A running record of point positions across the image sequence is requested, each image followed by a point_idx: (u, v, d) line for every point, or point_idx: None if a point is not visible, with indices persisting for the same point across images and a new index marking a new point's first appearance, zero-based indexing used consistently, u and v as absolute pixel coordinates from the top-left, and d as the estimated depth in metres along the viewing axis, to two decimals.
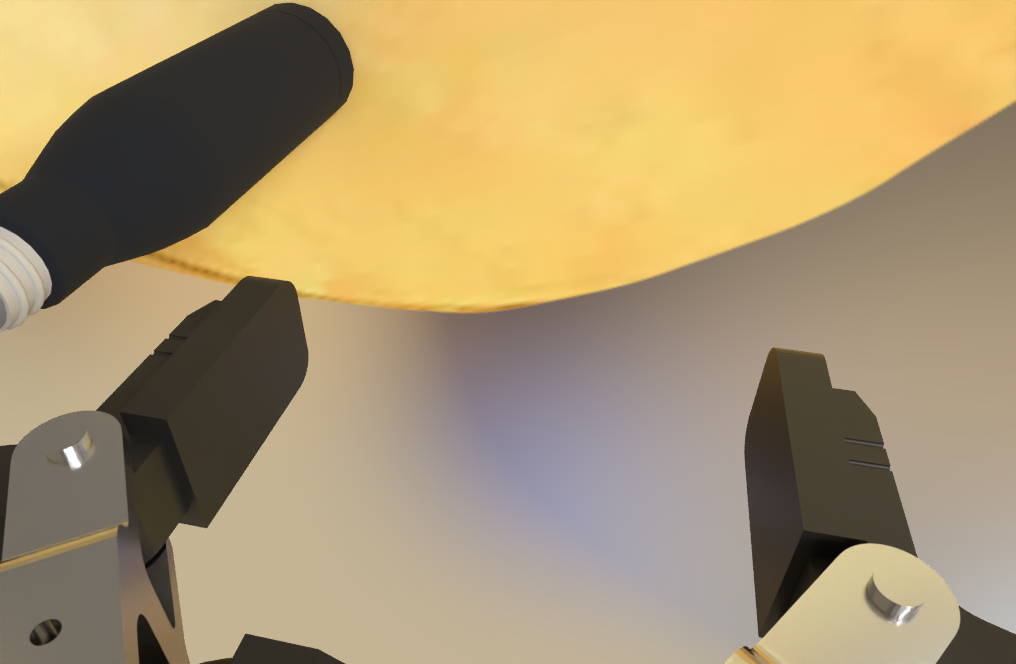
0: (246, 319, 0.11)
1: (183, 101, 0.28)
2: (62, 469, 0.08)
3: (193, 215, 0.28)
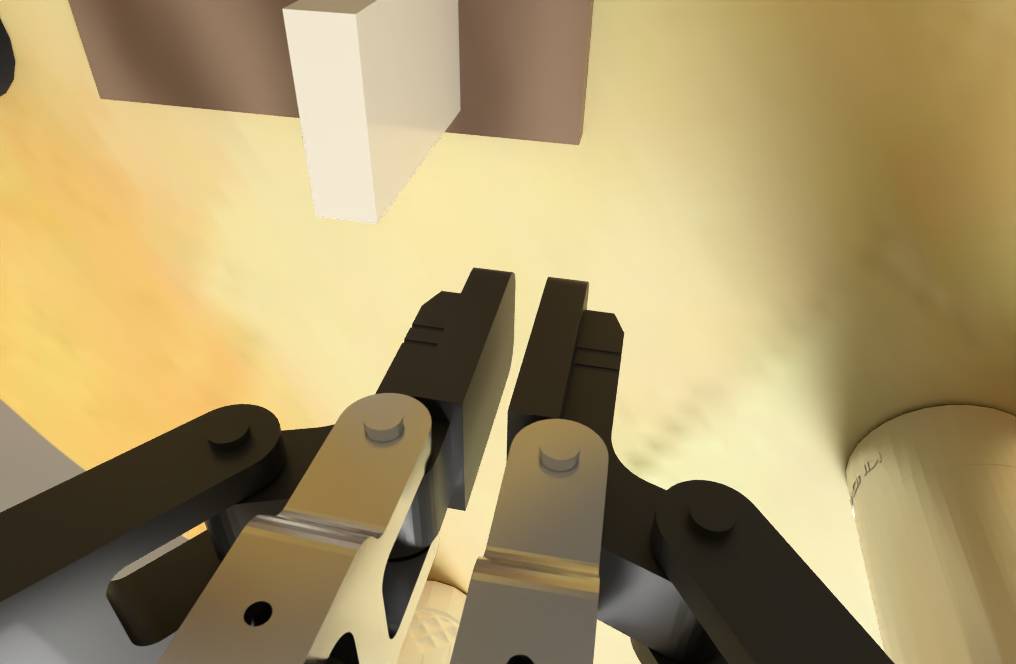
0: (492, 308, 0.11)
1: None
2: (389, 449, 0.09)
3: None
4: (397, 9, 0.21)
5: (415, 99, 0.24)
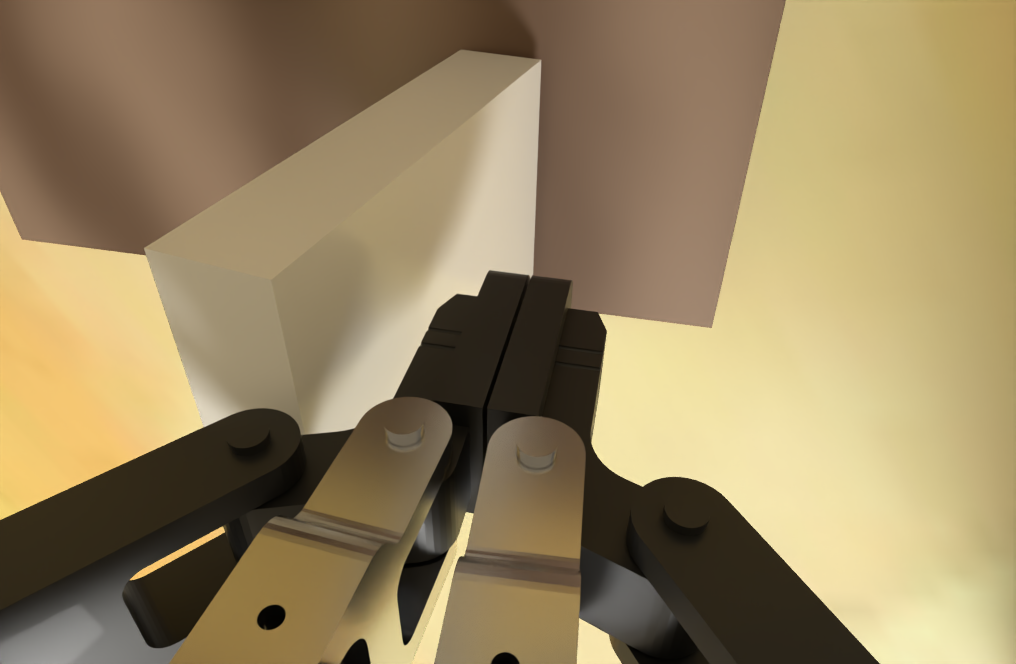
0: (509, 311, 0.11)
1: None
2: (411, 454, 0.09)
3: None
4: (398, 213, 0.12)
5: None
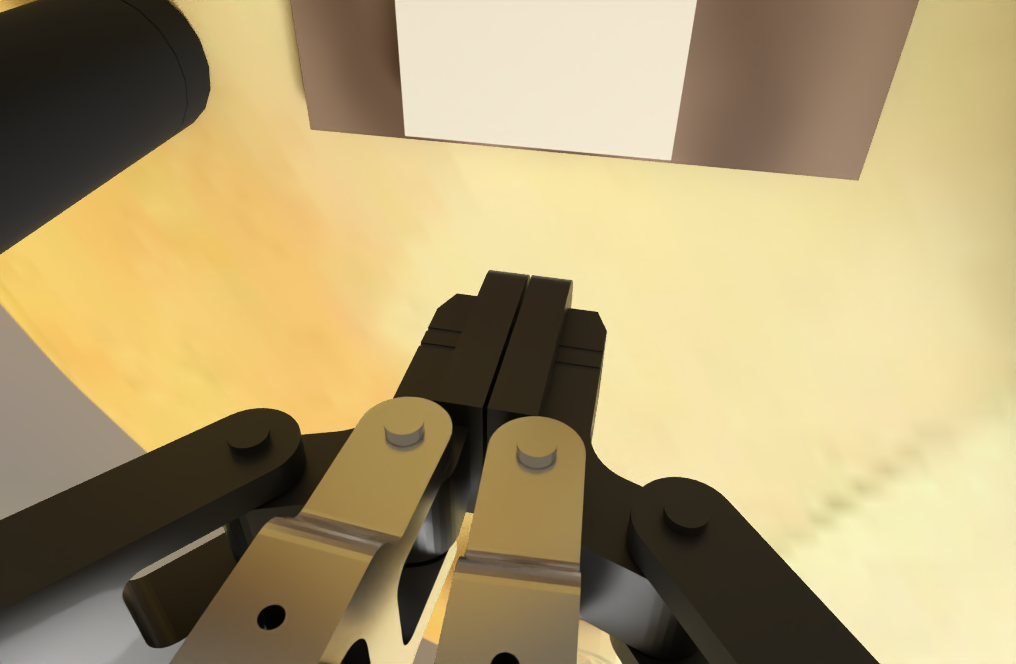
0: (509, 312, 0.11)
1: None
2: (411, 454, 0.09)
3: None
4: None
5: (517, 82, 0.25)
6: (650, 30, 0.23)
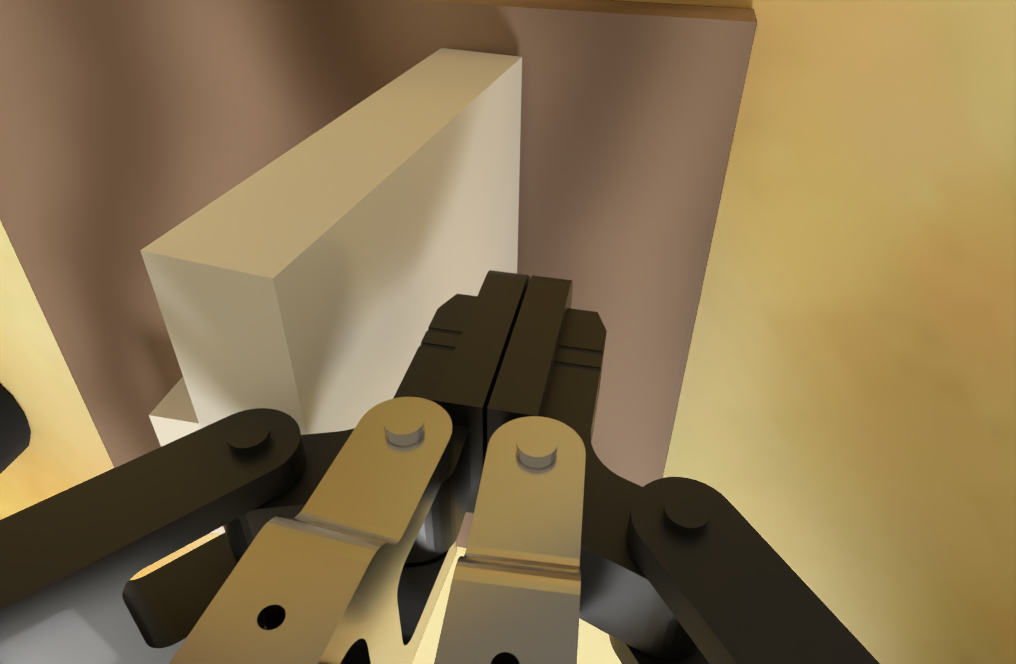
0: (509, 312, 0.11)
1: None
2: (411, 454, 0.09)
3: None
4: None
5: None
6: None
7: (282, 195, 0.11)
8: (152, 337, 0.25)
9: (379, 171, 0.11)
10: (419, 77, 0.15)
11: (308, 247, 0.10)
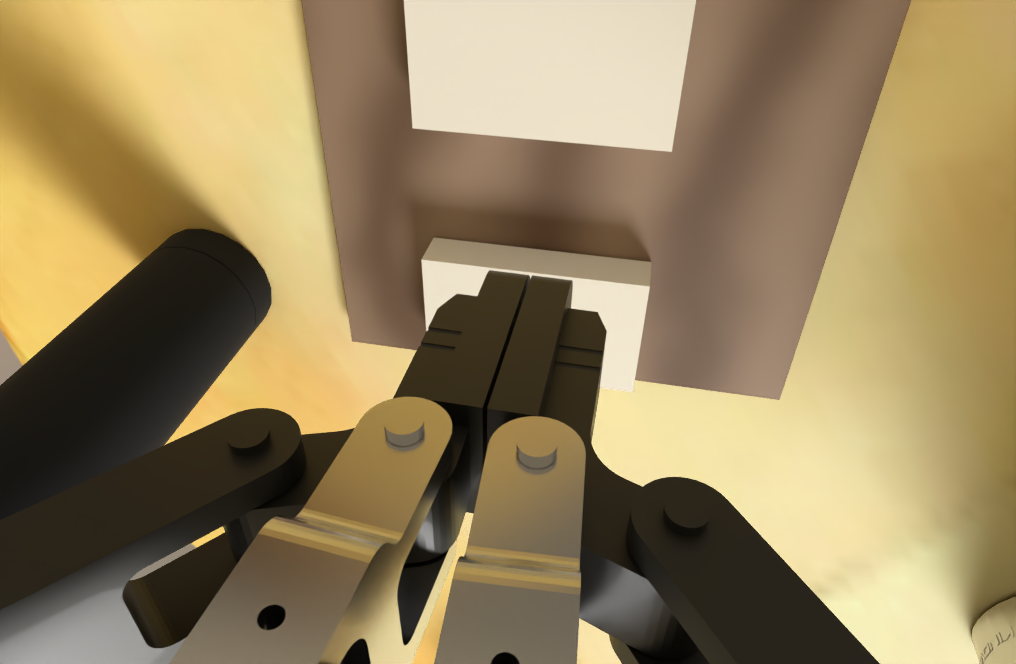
0: (509, 312, 0.11)
1: None
2: (411, 454, 0.09)
3: None
4: None
5: None
6: (614, 313, 0.31)
7: None
8: (417, 204, 0.33)
9: None
10: None
11: None
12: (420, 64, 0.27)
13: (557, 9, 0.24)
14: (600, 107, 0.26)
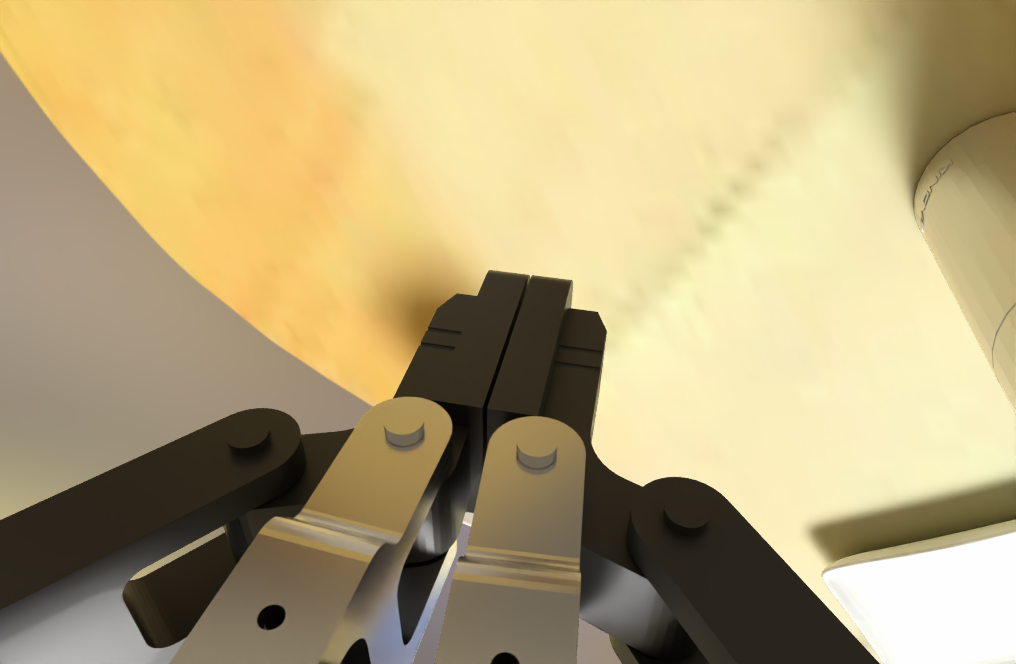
0: (509, 311, 0.11)
1: None
2: (411, 454, 0.09)
3: None
4: None
5: None
6: None
7: None
8: None
9: None
10: None
11: None
12: None
13: None
14: None
